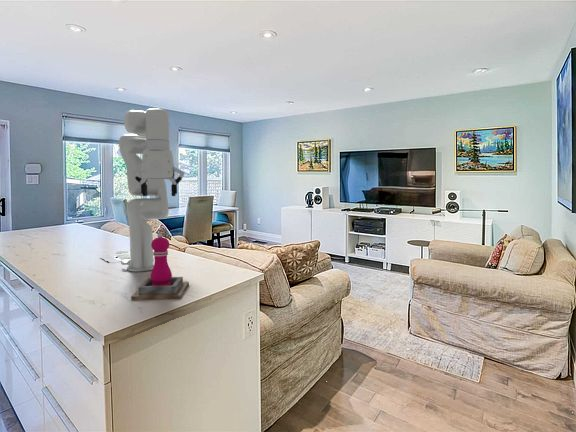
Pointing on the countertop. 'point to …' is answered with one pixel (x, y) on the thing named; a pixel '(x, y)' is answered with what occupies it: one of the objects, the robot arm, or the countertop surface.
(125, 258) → the tray
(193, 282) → the countertop surface
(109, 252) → the countertop surface
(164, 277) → the pepper mill
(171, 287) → the mill stand
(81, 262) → the countertop surface
